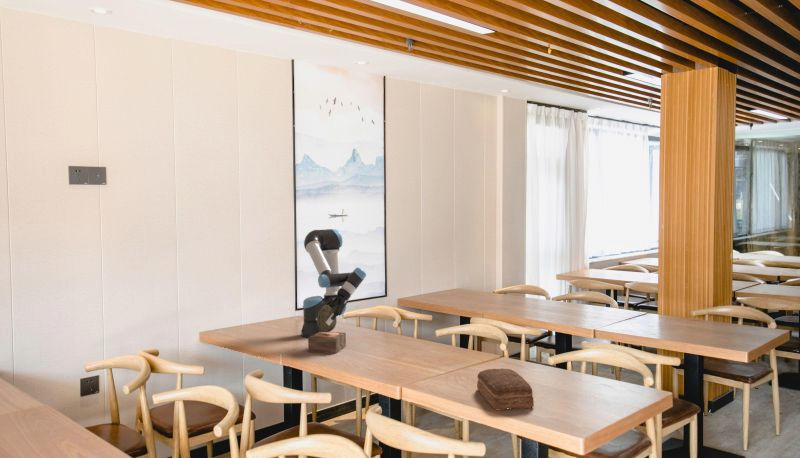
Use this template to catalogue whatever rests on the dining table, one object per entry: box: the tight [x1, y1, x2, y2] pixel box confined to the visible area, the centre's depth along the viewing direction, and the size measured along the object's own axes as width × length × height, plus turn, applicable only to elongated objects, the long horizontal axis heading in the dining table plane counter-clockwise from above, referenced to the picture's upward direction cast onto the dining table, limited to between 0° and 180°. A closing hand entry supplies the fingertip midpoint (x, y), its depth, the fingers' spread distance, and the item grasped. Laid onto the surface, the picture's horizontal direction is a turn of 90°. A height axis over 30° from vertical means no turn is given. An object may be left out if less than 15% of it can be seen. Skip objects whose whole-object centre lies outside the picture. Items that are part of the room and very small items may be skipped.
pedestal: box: [307, 331, 347, 354], centre depth 354 cm, size 16×16×8 cm
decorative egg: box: [317, 305, 338, 332], centre depth 353 cm, size 11×11×15 cm
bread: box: [476, 368, 535, 410], centre depth 263 cm, size 17×29×11 cm, turn 7°
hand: (322, 322), depth 352 cm, fingers closed on decorative egg, 11 cm apart
